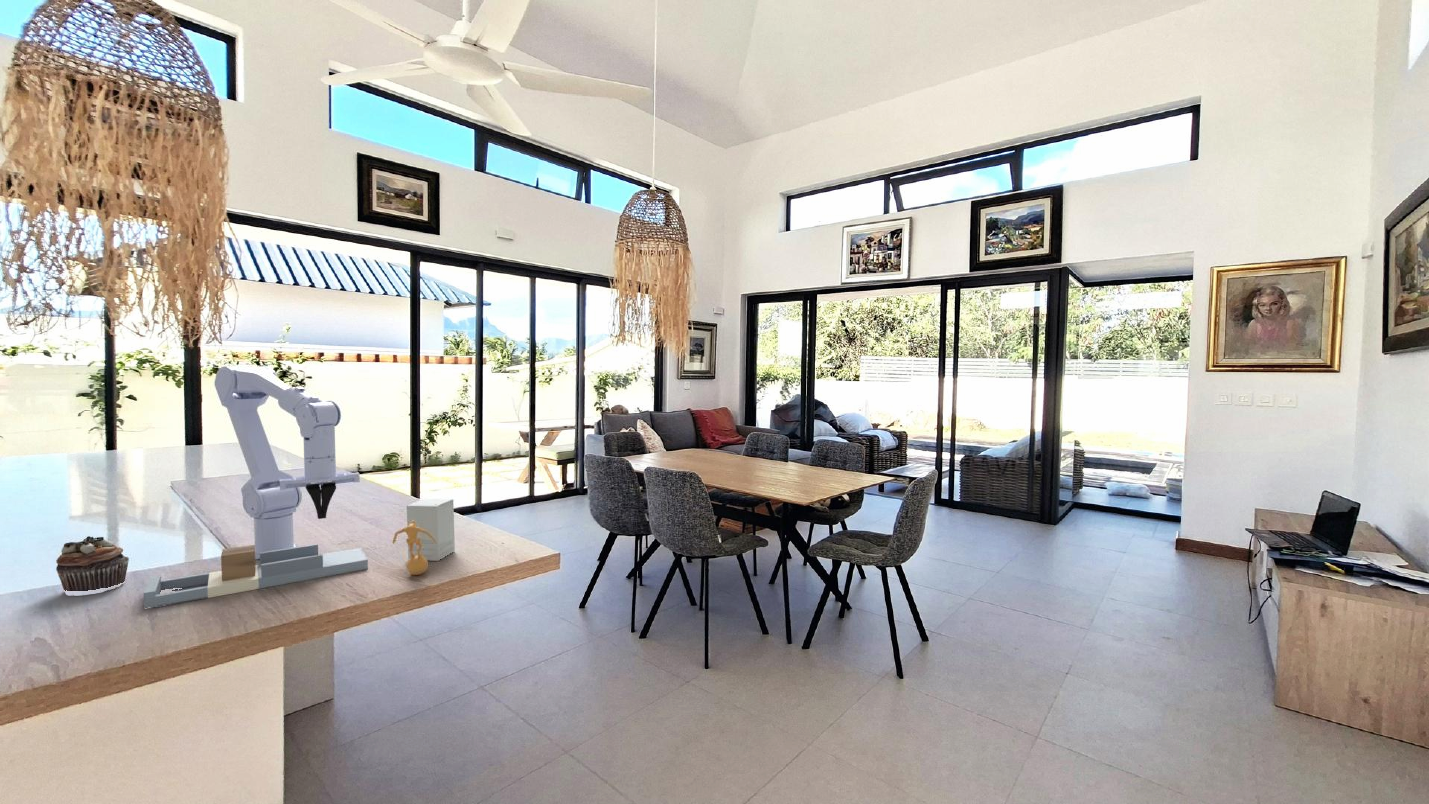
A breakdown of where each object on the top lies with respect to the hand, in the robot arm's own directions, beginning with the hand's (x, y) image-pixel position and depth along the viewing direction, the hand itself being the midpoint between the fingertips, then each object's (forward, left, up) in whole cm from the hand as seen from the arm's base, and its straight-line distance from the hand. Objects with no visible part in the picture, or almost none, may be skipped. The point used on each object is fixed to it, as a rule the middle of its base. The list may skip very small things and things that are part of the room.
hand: (321, 517), depth 128 cm
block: (+6, -14, -8) cm, 18 cm away
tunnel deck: (+6, -10, -10) cm, 15 cm away
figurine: (+22, +14, -10) cm, 28 cm away
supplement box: (+10, +20, -10) cm, 25 cm away
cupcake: (-8, -36, -10) cm, 38 cm away
